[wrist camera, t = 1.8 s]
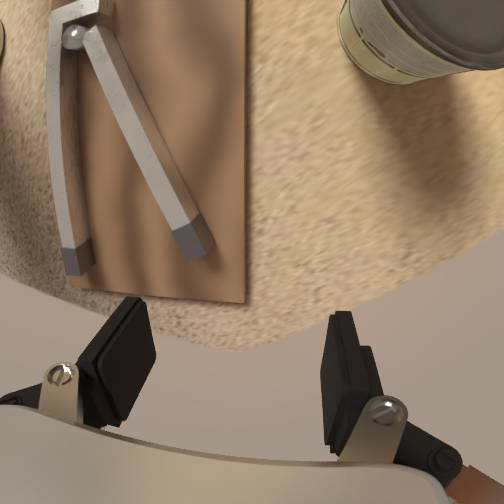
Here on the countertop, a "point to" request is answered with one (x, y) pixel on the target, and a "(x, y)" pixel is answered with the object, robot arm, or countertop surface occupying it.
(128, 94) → the tongs arm
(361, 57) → the coffee can
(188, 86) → the walnut board
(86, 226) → the tongs fixed arm
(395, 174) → the countertop surface
